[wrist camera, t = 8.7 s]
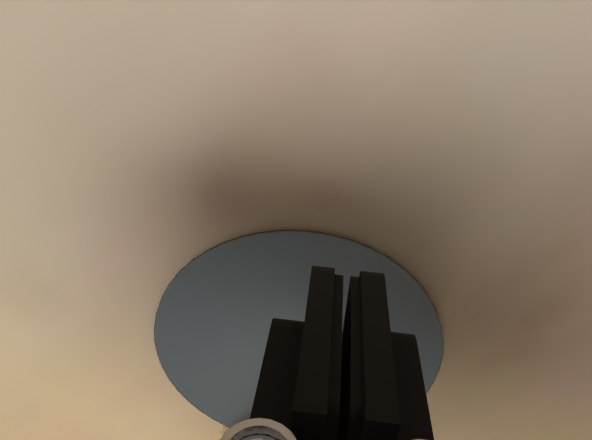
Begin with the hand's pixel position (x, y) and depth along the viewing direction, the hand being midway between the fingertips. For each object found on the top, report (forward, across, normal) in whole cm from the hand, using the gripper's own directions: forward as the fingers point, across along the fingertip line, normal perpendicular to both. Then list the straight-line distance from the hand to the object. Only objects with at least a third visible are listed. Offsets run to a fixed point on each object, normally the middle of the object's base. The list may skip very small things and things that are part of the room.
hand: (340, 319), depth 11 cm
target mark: (+8, +1, +9) cm, 13 cm away
